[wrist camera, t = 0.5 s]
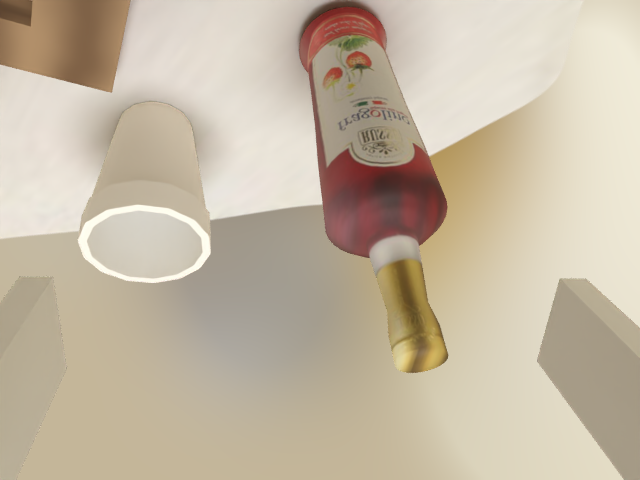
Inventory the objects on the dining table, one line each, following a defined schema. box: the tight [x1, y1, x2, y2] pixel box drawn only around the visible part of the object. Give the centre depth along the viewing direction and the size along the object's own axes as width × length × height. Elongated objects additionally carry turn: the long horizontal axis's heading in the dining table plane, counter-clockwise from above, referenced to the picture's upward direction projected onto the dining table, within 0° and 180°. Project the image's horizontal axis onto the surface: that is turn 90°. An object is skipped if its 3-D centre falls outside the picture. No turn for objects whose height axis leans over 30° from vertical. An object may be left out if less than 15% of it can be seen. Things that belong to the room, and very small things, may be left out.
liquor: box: [299, 7, 448, 373], centre depth 37 cm, size 7×7×28 cm
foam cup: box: [78, 101, 211, 283], centre depth 46 cm, size 10×9×13 cm
